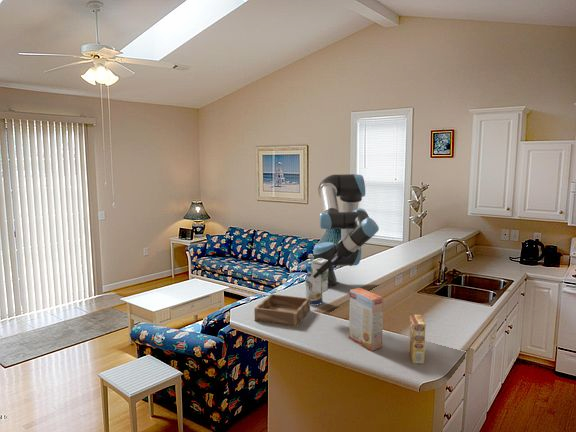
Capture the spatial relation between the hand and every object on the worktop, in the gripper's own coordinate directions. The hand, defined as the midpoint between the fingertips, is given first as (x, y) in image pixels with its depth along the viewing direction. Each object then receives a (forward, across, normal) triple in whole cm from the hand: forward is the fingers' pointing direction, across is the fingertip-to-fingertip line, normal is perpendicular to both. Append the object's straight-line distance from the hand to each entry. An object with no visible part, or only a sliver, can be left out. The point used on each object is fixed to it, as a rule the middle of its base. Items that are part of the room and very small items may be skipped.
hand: (312, 278), depth 192 cm
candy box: (-20, -23, -47) cm, 56 cm away
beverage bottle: (+17, +18, -10) cm, 27 cm away
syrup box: (+2, 0, -7) cm, 7 cm away
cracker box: (-6, -17, -33) cm, 38 cm away
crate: (+23, -2, -4) cm, 23 cm away
